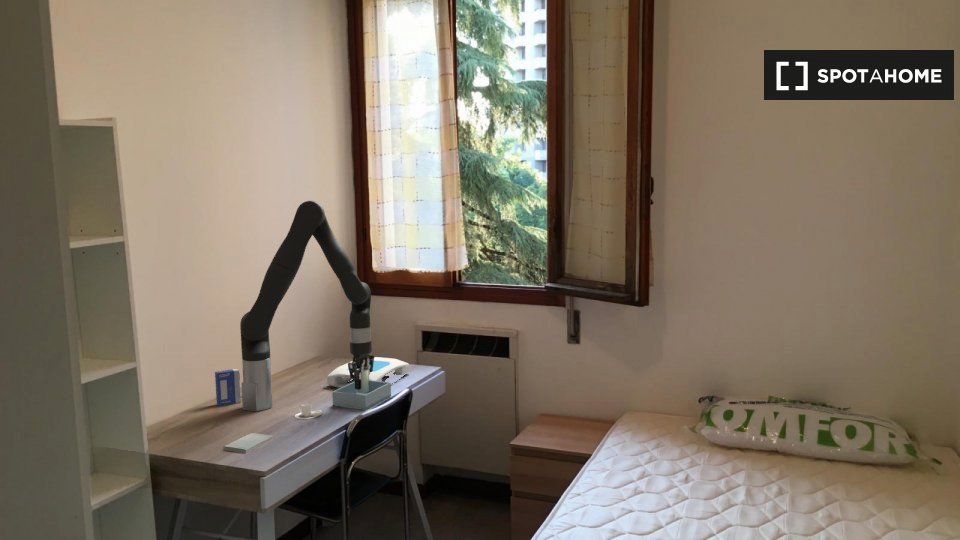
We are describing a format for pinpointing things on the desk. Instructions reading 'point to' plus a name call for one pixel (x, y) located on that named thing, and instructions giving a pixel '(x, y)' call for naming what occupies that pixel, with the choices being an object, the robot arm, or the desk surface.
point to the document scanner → (379, 371)
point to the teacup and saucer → (308, 411)
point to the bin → (361, 395)
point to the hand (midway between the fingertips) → (362, 387)
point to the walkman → (227, 387)
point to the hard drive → (248, 442)
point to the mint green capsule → (364, 382)
